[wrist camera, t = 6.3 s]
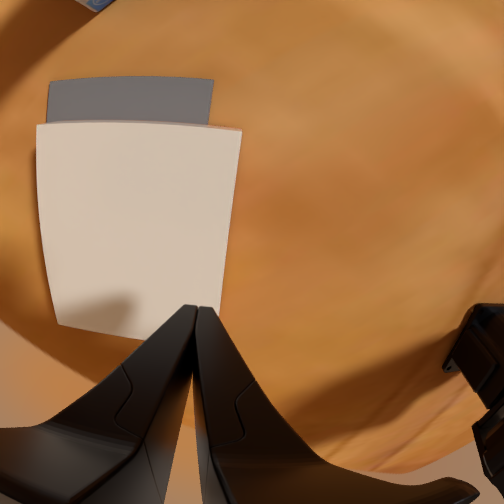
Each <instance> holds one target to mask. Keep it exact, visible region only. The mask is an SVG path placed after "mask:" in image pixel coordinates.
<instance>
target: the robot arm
mask: <svg viewBox="0 0 504 504" xmlns="http://www.w3.org/2000/svg"><path fill="white" fill-rule="evenodd" d="M442 369H443V371H444V372H445V373H447V372H454V371H461V373H462V374H463V376H464V377H465V379H466V380H467V382H468V383H469V385H470V386H471V388H472V389H473V391H474V392H475V393H477V394H478V396H479V397H480V399H481V401H482V402H483V404H484V405H485V407H486V409H490V410H489V411H488V412H487V413H486V414H485V415H484V416H483V417H482V418H481V419H480V420H479V421H476V422H475V423H474V424H473V425H472V430H473V433H474V438H475V442H476V445H477V449H478V452H479V456H480V460H481V464H482V467H483V472H484V475H485V476H486V477H487V478H488V479H489V481H490V482H491V483H492V484H493V485H494V486H496V487H497V489H498V490H499V492H500V493H501V494H502V496H503V498H504V304H489V303H481V304H478V305H477V306H476V307H475V309H474V311H473V313H472V315H471V317H470V319H469V321H468V323H467V325H466V326H465V328H464V330H463V332H462V334H461V336H460V337H459V339H458V341H457V343H456V344H455V346H454V348H453V350H452V351H451V353H450V355H449V356H448V358H447V360H446V361H445V363H444V364H443V366H442ZM192 373H193V399H194V415H195V429H196V440H197V441H196V442H197V453H198V464H199V474H200V484H201V493H202V501H203V504H470V503H471V502H472V501H473V500H475V499H476V498H477V497H478V496H479V495H480V492H479V491H478V490H477V489H476V488H475V487H473V486H472V485H471V484H469V483H467V482H464V481H462V480H458V479H455V478H452V477H445V478H441V479H438V480H435V481H432V482H430V483H426V484H422V485H411V486H410V485H399V484H394V483H390V482H386V481H383V480H379V479H376V478H372V477H369V476H366V475H362V474H359V473H356V472H353V471H350V470H347V469H344V468H341V467H338V466H335V465H333V464H331V463H329V462H327V461H325V460H324V459H322V458H321V457H320V456H318V455H317V454H316V453H315V452H314V451H313V450H312V449H311V448H310V447H309V446H308V445H307V444H306V443H305V442H304V441H303V439H302V438H301V437H300V436H299V435H298V434H297V433H296V432H295V431H294V429H293V428H292V427H291V426H290V425H289V424H288V423H287V422H286V420H285V419H284V418H283V417H282V416H281V415H280V413H279V412H278V411H277V410H276V409H275V407H274V406H273V405H272V404H271V402H270V401H269V399H268V398H267V396H266V395H265V393H264V392H263V390H262V389H261V387H260V386H259V384H258V382H257V381H255V378H254V376H253V375H252V373H251V371H250V370H249V368H248V366H247V365H246V363H245V361H244V360H243V358H242V356H241V355H240V353H239V351H238V350H237V348H236V346H235V345H234V343H233V341H232V340H231V338H230V336H229V334H228V333H227V331H226V329H225V328H224V326H223V324H222V322H221V321H220V319H219V317H218V315H217V314H216V312H215V310H214V308H213V307H208V306H199V307H198V306H197V305H190V304H184V305H183V306H182V307H180V308H179V309H178V310H177V311H176V312H175V313H174V314H173V315H172V316H171V317H170V318H169V319H168V320H167V321H166V322H164V323H163V324H162V325H161V326H160V327H159V328H158V329H157V330H156V331H155V332H154V333H153V334H152V335H151V336H150V337H148V338H147V339H146V340H145V341H144V342H143V343H142V344H141V345H140V346H139V347H138V348H137V349H136V350H135V351H134V352H133V353H131V354H130V355H129V356H128V357H127V358H126V359H125V360H124V361H123V362H122V363H121V365H119V366H118V367H116V368H115V369H114V370H113V371H112V372H111V373H110V374H109V375H108V376H107V377H106V378H104V379H103V380H102V381H101V382H100V383H99V384H97V385H96V386H95V387H94V388H92V389H91V390H90V391H88V392H87V393H86V394H84V395H83V396H82V397H80V398H79V399H77V400H76V401H75V402H73V403H72V404H71V405H69V406H68V407H66V408H65V409H63V410H62V411H61V412H59V413H58V414H57V415H55V416H54V417H52V418H51V419H49V420H47V421H45V422H43V423H41V424H38V425H35V426H31V427H17V428H0V504H164V500H165V495H166V490H167V485H168V481H169V476H170V471H171V467H172V463H173V458H174V453H175V449H176V445H177V440H178V436H179V431H180V427H181V423H182V418H183V414H184V410H185V405H186V401H187V397H188V393H189V388H190V384H191V379H192Z"/></svg>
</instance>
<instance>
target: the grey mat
mask: <svg viewBox="0 0 504 504" xmlns="http://www.w3.org/2000/svg"><path fill="white" fill-rule="evenodd" d="M213 84H214V80H211V79H198V78H183V77H158V76H121V77H96V78H81V79H70V80H60V81H51V82H50V86H49V96H48V108H47V123H50V122H56V121H66V120H146V121H167V122H182V123H194V124H205V125H208V119H209V112H210V105H211V97H212V91H213Z"/></svg>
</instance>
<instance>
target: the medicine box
mask: <svg viewBox="0 0 504 504" xmlns="http://www.w3.org/2000/svg"><path fill="white" fill-rule="evenodd" d="M75 1H77V2H79V3H80V4H82V5H84V6H85V7H87V8H88V9H90V10H92V11H93V12H99V11H100V10H101V9H103V8H104V7H105V6H107V5H108V4H109V3H111V2H112V1H113V0H75Z"/></svg>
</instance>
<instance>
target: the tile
mask: <svg viewBox="0 0 504 504" xmlns="http://www.w3.org/2000/svg"><path fill="white" fill-rule="evenodd" d="M241 137H242V130H241V128H233V127H225V126H215V125H205V124H194V123H182V122H167V121H146V120H66V121H56V122H50V123H44V124H38V125H37V134H36V172H37V194H38V208H39V219H40V229H41V237H42V245H43V252H44V259H45V265H46V271H47V276H48V282H49V287H50V292H51V296H52V301H53V305H54V310H55V314H56V318H57V322H58V324H59V325H64V326H68V327H73V328H78V329H83V330H88V331H93V332H98V333H104V334H109V335H115V336H121V337H127V338H133V339H140V340H146V339H147V338H148V337H150V336H151V335H152V334H153V333H154V332H155V331H156V330H157V329H158V328H159V327H160V326H161V325H162V324H163V323H164V322H166V321H167V320H168V319H169V318H170V317H171V316H172V315H173V314H174V313H175V312H176V311H177V310H178V309H179V308H180V307H182V306H183V305H184V304H190V305H197V306H198V307H199V306H208V307H213V308H214V310H215V312H216V314H217V315H218V317H219V310H220V301H221V292H222V283H223V275H224V266H225V258H226V250H227V242H228V234H229V226H230V218H231V210H232V202H233V195H234V187H235V180H236V173H237V166H238V158H239V151H240V144H241Z"/></svg>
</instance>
